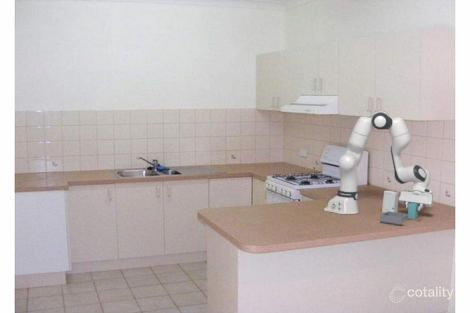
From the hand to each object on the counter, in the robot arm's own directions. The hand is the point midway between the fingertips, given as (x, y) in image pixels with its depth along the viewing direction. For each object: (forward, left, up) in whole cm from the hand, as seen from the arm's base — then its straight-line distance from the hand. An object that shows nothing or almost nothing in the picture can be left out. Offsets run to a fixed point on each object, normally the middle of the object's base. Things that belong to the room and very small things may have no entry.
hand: (412, 209), depth 323 cm
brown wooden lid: (0, +1, -7) cm, 7 cm away
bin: (-7, -12, -7) cm, 16 cm away
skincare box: (-17, +9, -7) cm, 20 cm away
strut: (0, +1, -5) cm, 5 cm away
